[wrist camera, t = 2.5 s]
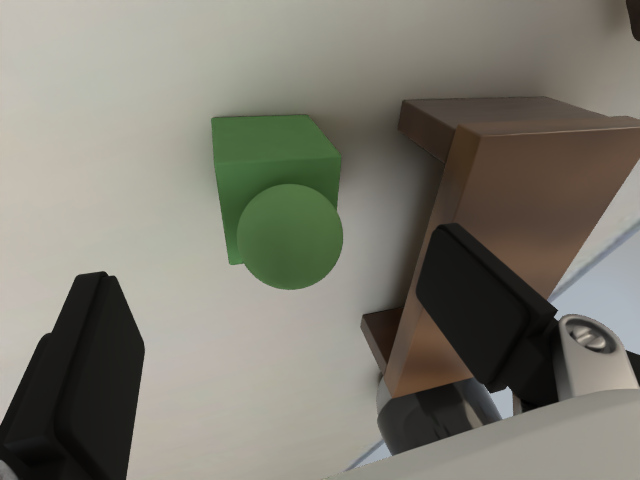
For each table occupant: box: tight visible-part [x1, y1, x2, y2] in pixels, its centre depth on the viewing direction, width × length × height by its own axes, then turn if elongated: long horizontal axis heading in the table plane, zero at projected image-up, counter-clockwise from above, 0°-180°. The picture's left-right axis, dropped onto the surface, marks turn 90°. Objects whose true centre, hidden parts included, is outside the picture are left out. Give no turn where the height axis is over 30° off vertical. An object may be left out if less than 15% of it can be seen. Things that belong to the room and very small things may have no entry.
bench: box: [361, 97, 640, 398], centre depth 20 cm, size 18×9×6 cm, turn 177°
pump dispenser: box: [376, 376, 503, 456], centre depth 27 cm, size 10×10×15 cm
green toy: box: [211, 115, 343, 290], centre depth 13 cm, size 4×4×8 cm
